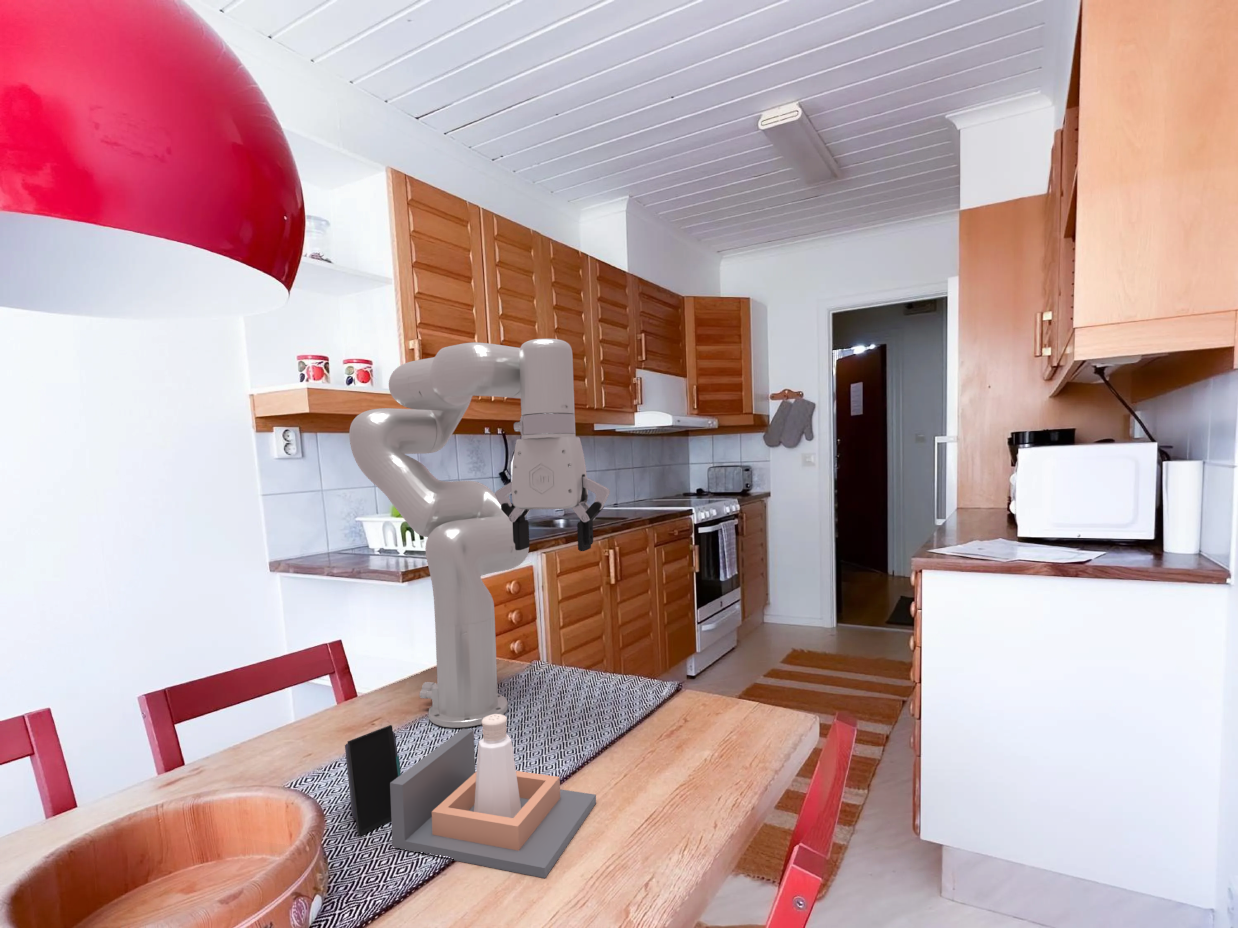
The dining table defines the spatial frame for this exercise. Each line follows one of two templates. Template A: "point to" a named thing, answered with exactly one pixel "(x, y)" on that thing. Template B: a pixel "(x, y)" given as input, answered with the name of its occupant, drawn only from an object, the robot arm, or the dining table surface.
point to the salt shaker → (496, 771)
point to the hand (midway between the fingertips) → (553, 549)
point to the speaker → (372, 777)
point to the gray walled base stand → (448, 826)
